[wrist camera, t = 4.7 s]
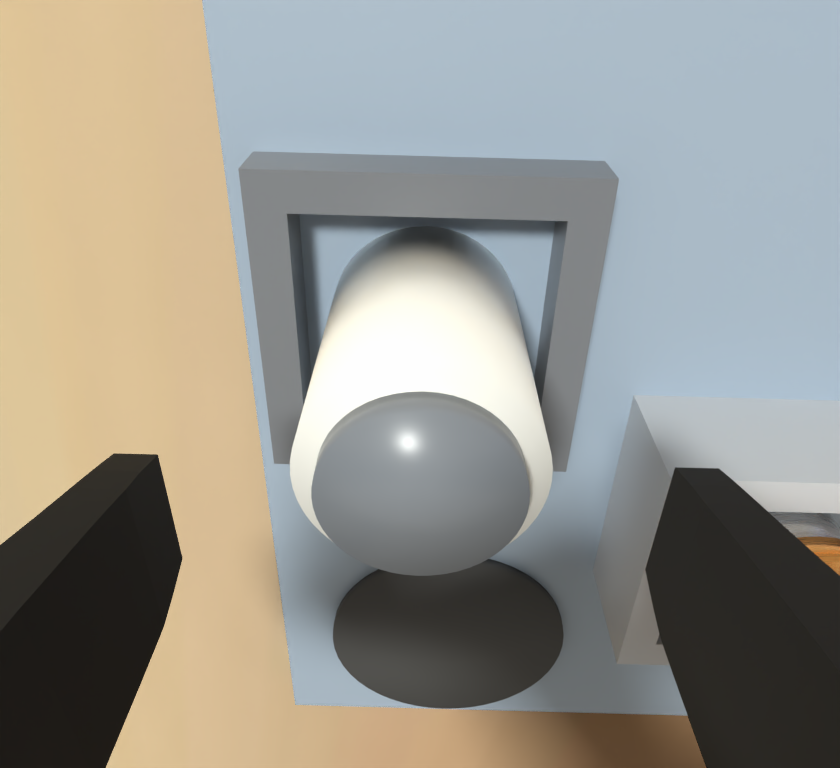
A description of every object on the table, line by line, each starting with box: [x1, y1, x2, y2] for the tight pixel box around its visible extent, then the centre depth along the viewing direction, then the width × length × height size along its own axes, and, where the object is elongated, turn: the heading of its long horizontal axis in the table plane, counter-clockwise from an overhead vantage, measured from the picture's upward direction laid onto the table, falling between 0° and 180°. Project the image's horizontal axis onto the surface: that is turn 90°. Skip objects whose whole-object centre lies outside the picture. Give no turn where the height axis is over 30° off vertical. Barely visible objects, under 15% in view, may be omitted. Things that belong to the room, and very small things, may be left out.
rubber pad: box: [333, 559, 564, 709], centre depth 21 cm, size 7×7×1 cm
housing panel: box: [202, 0, 840, 716], centre depth 16 cm, size 16×22×4 cm
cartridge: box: [290, 226, 553, 576], centre depth 13 cm, size 4×4×6 cm
